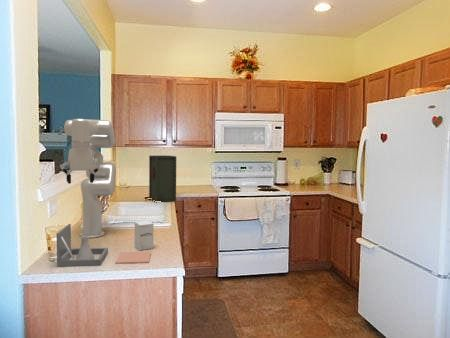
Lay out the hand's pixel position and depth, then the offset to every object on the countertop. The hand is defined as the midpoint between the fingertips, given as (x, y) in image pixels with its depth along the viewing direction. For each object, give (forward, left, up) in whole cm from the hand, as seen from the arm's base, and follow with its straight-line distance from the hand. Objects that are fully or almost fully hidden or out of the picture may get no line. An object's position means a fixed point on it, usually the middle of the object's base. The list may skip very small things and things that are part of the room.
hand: (80, 183), depth 158 cm
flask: (+11, +4, -33) cm, 35 cm away
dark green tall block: (-143, +32, -33) cm, 150 cm away
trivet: (+11, +25, -33) cm, 43 cm away
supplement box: (-4, +28, -33) cm, 44 cm away
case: (+11, +4, -33) cm, 35 cm away
